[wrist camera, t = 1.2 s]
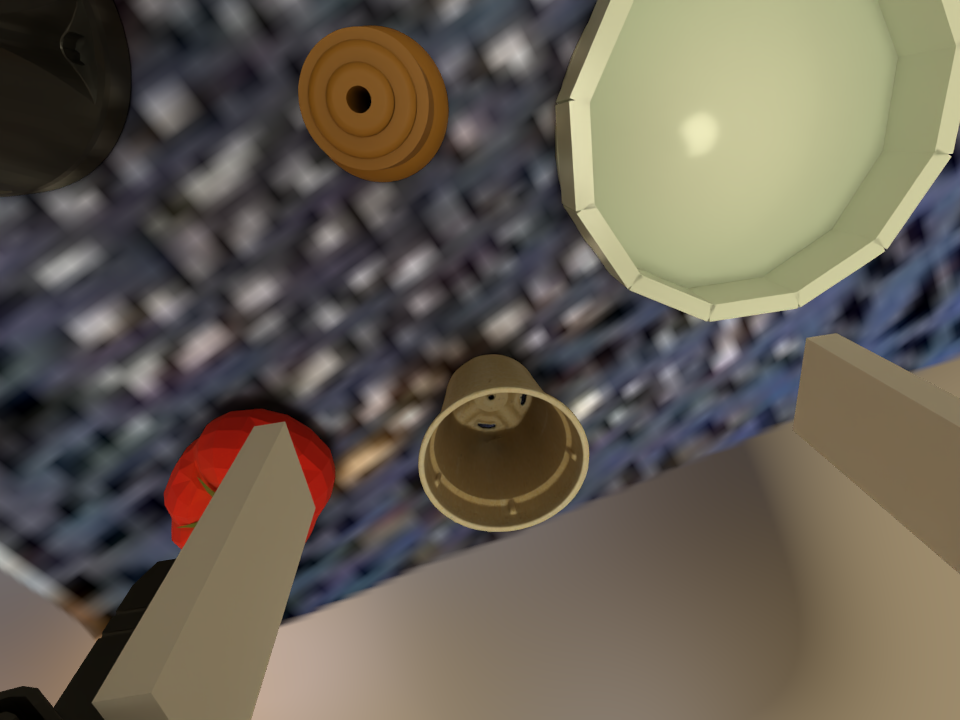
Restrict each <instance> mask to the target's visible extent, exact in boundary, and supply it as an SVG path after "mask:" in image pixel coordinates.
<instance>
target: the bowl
mask: <svg viewBox="0 0 960 720" xmlns="http://www.w3.org/2000/svg"><path fill="white" fill-rule="evenodd" d="M556 103H558V105H555V112H556V126H555V157H556V165H557V172H558V179H559V183H560V186H561V195H562V203H563V204H564V205H563V207H564V208H565V209H566V211H567V212H568V214H569V215H570V217H571V218H572V220H573V222H574V223H575V225H576V227H577V229H578V230H579V232H580V234H581V235H582V237H583V238H584V240H585V241H586V242H587V243H588V245H589V246H590V247H591V248H592V250H593V251H594V252H595V253H596V255H597V256H598V258H599V259H600V260H601V262H602V263H603V265H604V266H605V268H606V269H607V271H608V272H609V274H611V275H612V276H613V277H614V278H615V279H617V280H618V281H619V282H620V283H621V284H623V285H624V286H625V287H626V288H628V289H629V290H630V291H633V292H635V293H638V294H640V295H643V296H645V297H648V298H650V299H653V300H655V301H658V302H660V303H663V304H665V305H668V306H670V307H673V308H675V309H678V310H680V311H682V312H685V313H687V314H690V315H692V316H695V317H697V318H700V319H702V320H705V321H709V322H711V321H717V320H724V319H730V318H737V317H743V316H750V315H757V314H763V313H770V312H776V311H783V310H789V309H796V308H798V306H799V307H801V306H803V305H804V304H806V303H808V302H809V301H811V300H812V299H814V298H815V297H817V296H818V295H820V294H821V293H823V292H824V291H826V290H827V289H829V288H830V287H832V286H833V285H835V284H836V283H838V282H839V281H841V280H842V279H844V278H845V277H847V276H848V275H850V274H851V273H853V272H854V271H856V270H857V269H859V268H860V267H862V266H863V265H865V264H866V263H868V262H869V261H871V260H872V259H874V258H875V257H877V256H878V255H880V254H881V253H883V252H884V251H885V250H884V248H885V249H888V247H889V246H890V244H891V243H892V241H893V240H894V238H895V237H896V236H897V234H898V233H899V231H900V230H901V228H902V227H903V225H904V224H905V223H906V221H907V220H908V218H909V217H910V215H911V214H912V213H913V211H914V210H915V208H916V207H917V205H918V204H919V202H920V201H921V200H922V198H923V197H924V195H925V194H926V192H927V191H928V190H929V188H930V187H931V185H932V184H933V182H934V181H935V179H936V178H937V177H938V175H939V174H940V172H941V171H942V169H943V168H944V166H945V165H946V164H947V162H948V161H949V159H950V158H951V156H950V155H948V154H952V153H953V150H954V146H955V141H956V136H957V132H958V127H959V122H960V0H597V3H596V5H595V8H594V10H593V12H592V15H591V17H590V20H589V22H588V24H587V25H586V27H585V29H584V31H583V33H582V35H581V37H580V39H579V41H578V43H577V45H576V47H575V49H574V52H573V54H572V56H571V59H570V62H569V65H568V68H567V71H566V74H565V77H564V80H563V84H562V88H561V90H560V93H559V95H558V98H557V100H556Z"/></svg>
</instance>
